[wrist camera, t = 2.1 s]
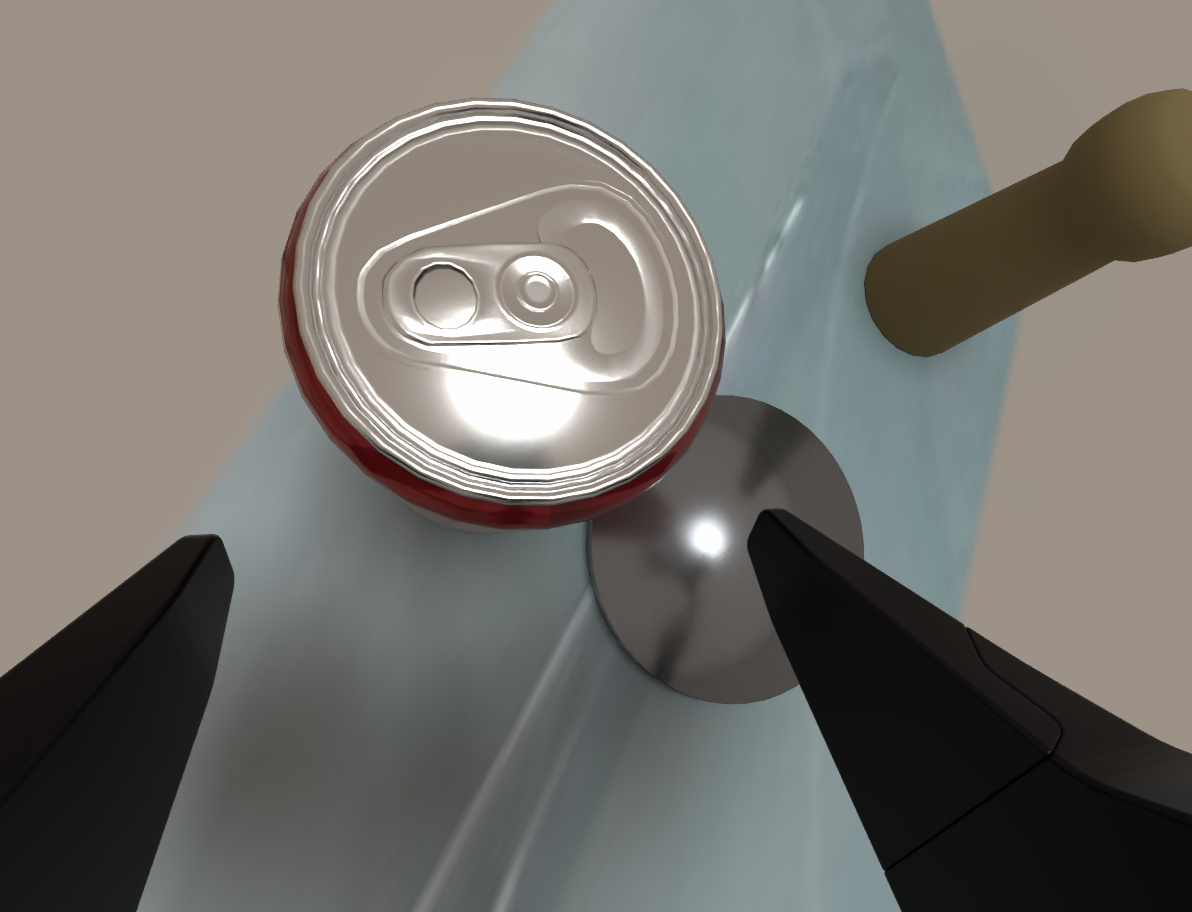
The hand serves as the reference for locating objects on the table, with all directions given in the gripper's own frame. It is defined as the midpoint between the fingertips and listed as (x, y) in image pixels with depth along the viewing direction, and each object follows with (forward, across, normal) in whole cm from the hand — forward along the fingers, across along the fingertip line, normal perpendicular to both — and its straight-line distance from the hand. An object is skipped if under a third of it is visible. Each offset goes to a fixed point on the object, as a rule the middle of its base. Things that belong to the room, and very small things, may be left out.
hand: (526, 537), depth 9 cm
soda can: (+10, 0, +5) cm, 11 cm away
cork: (+15, -21, 0) cm, 26 cm away
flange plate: (+7, -10, +8) cm, 14 cm away
